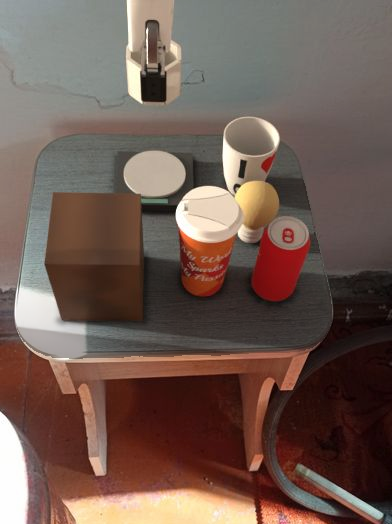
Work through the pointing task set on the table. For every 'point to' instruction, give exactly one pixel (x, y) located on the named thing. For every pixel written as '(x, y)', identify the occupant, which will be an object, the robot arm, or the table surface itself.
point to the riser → (96, 256)
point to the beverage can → (280, 258)
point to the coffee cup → (207, 237)
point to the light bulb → (256, 208)
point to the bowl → (171, 67)
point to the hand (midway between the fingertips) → (154, 79)
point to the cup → (248, 151)
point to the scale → (155, 177)
